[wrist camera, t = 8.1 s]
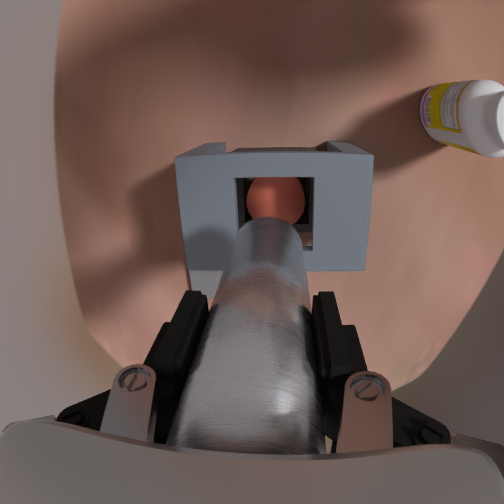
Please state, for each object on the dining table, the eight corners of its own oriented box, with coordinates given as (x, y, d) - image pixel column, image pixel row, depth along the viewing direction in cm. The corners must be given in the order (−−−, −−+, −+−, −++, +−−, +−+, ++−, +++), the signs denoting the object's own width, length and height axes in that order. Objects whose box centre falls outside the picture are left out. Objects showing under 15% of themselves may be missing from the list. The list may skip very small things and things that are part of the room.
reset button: (303, 167, 28) (305, 173, 25) (302, 218, 30) (304, 229, 27) (248, 167, 28) (245, 173, 25) (251, 218, 30) (247, 229, 27)
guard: (346, 141, 30) (373, 155, 20) (343, 226, 33) (364, 271, 24) (205, 143, 31) (174, 157, 22) (212, 226, 35) (187, 270, 26)
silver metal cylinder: (303, 216, 18) (342, 454, 5) (301, 280, 19) (317, 516, 6) (231, 216, 18) (134, 440, 5) (235, 280, 20) (177, 507, 7)
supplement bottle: (477, 122, 26) (554, 138, 15) (440, 155, 29) (511, 185, 17) (445, 72, 25) (519, 63, 13) (405, 105, 27) (471, 107, 16)
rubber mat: (259, 248, 35) (258, 251, 34) (260, 295, 38) (260, 298, 37) (188, 248, 36) (186, 251, 35) (194, 293, 38) (193, 297, 38)
